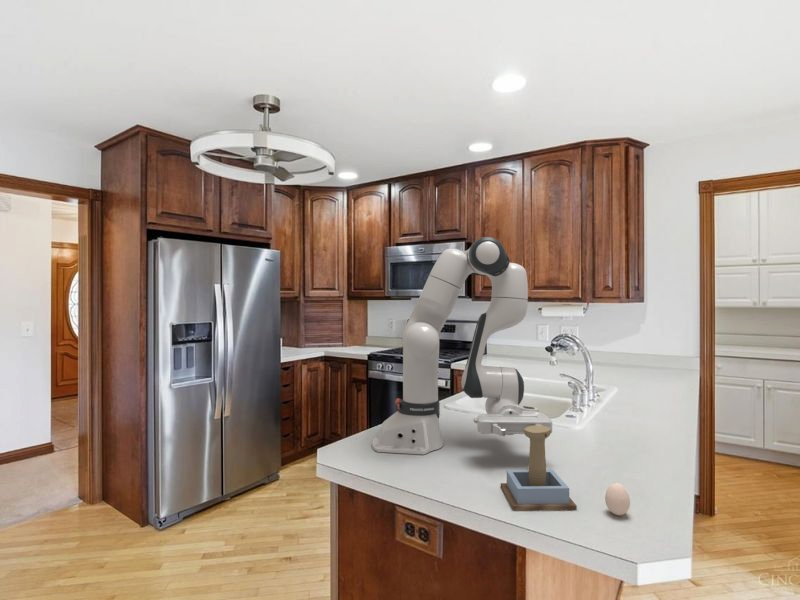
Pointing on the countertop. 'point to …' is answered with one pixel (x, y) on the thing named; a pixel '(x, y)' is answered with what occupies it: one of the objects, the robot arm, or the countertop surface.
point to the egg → (617, 499)
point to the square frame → (537, 488)
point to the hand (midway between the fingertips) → (520, 433)
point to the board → (534, 506)
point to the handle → (537, 454)
